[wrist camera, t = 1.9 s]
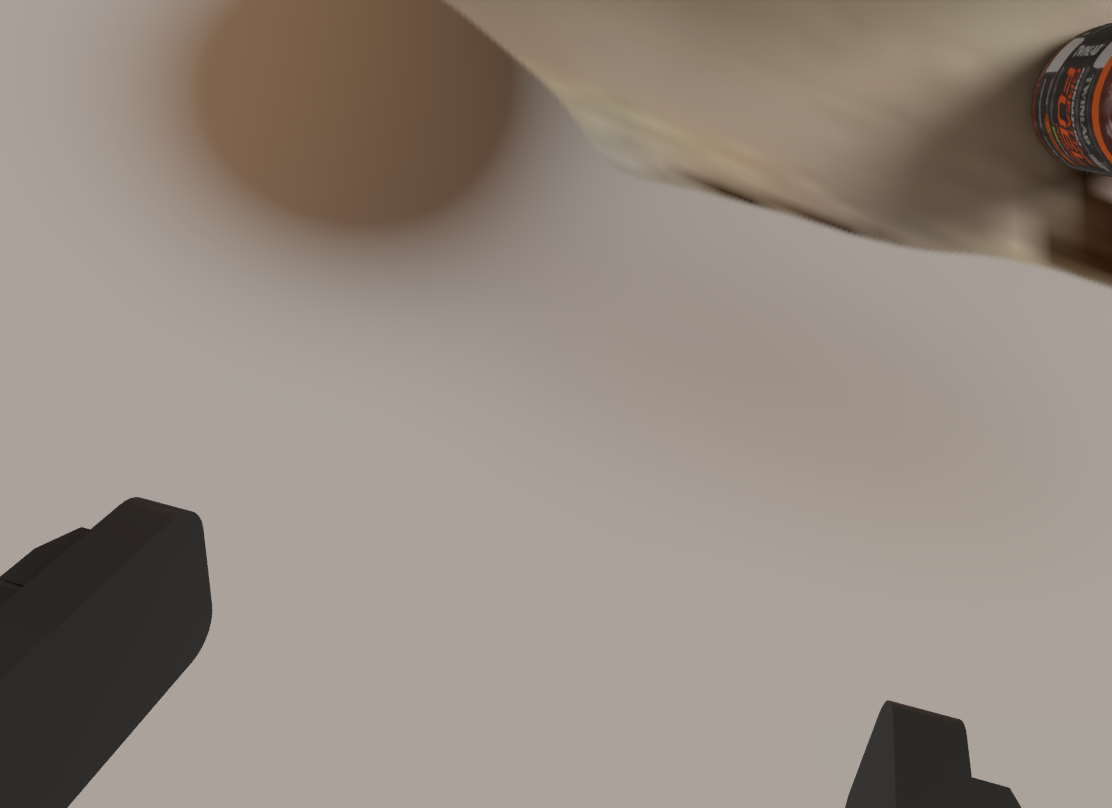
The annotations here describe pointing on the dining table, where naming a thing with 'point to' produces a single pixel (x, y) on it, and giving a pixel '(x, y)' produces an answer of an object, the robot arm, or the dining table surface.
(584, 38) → the dining table surface
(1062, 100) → the supplement bottle
